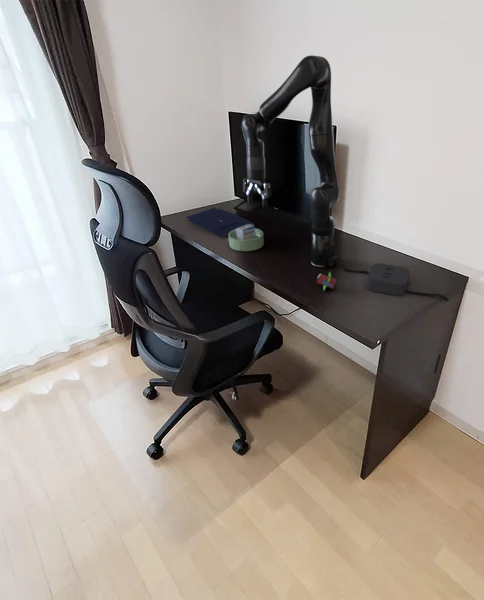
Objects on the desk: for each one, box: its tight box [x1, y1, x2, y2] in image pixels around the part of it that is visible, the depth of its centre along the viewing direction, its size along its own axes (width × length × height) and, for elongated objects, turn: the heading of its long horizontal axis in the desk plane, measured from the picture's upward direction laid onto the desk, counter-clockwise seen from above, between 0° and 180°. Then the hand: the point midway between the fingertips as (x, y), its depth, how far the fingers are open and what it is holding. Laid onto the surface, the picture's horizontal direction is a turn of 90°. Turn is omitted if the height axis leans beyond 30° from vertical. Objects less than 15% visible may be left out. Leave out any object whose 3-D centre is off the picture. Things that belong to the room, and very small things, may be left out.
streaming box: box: [365, 262, 411, 296], centre depth 142 cm, size 14×14×5 cm
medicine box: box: [236, 224, 256, 240], centre depth 173 cm, size 8×4×9 cm, turn 143°
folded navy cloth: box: [185, 207, 256, 239], centre depth 196 cm, size 24×30×4 cm
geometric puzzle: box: [316, 271, 338, 292], centre depth 139 cm, size 7×7×8 cm
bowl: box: [227, 227, 265, 252], centre depth 174 cm, size 16×16×6 cm
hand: (257, 204), depth 162 cm, fingers open, 8 cm apart
